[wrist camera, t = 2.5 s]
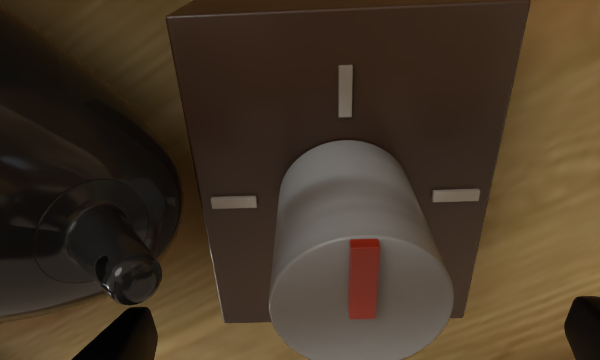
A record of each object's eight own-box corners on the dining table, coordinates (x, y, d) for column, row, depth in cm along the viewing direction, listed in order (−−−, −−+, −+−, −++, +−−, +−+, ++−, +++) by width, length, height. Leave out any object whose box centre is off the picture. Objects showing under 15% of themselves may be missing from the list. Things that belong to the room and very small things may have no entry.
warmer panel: (441, 264, 18) (465, 322, 16) (234, 269, 19) (222, 327, 16) (486, -14, 13) (535, 0, 10) (192, -1, 13) (161, 16, 10)
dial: (403, 247, 14) (445, 379, 10) (283, 250, 14) (274, 382, 10) (415, 136, 12) (474, 243, 8) (274, 141, 12) (258, 249, 8)
